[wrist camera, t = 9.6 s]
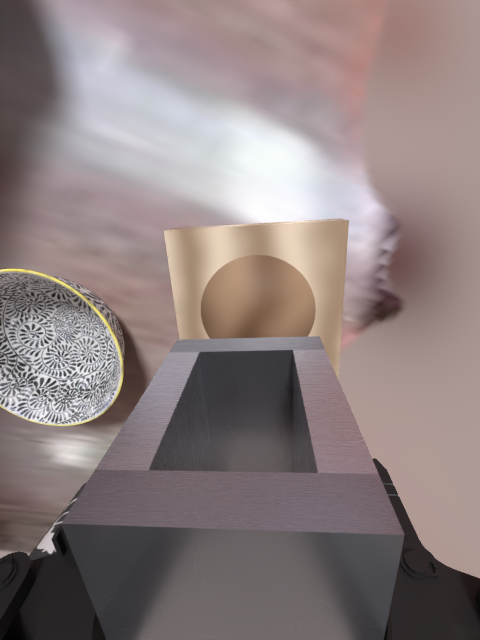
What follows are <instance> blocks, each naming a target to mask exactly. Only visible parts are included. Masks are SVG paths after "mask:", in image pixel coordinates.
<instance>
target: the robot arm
mask: <svg viewBox="0 0 480 640" xmlns="http://www.w3.org/2000/svg"><path fill="white" fill-rule="evenodd" d="M372 460H373V462H374V464H375V467H376V469H377V471H378V474H379V476H380V478H381V481H382V483H383V485H384V488H385V490H386V492H387V495H388V497H389V499H390V502H391V504H392V506H393V509H394V511H395V513H396V516H397V518H398V520H399V523H400V525H401V527H402V530H403V532H404V534H405V536H404V541H403V546H402V551H401V556H400V561H399V566H398V571H397V576H396V581H395V586H394V591H393V596H392V601H391V606H390V611H389V616H388V621H387V626H386V631H385V636H384V640H480V578H477V577H474V576H471V575H469V574H466V573H463V572H460V571H457V570H455V569H452V568H450V567H448V566H446V565H444V564H442V563H441V562H439V561H438V560H436V559H435V558H434V556H433V555H432V554H431V553H430V552H429V551H428V550H426V549H425V548H424V546H423V545H422V544H421V542H420V540H419V539H418V536H417V534H416V532H415V530H414V528H413V525H412V524H411V521H410V519H409V517H408V515H407V513H406V510H405V508H404V506H403V504H402V502H401V500H400V497H398V493H397V491H396V489H395V487H394V486H393V483H392V480H391V478H390V476H389V474H388V472H387V470H386V469H385V468H384V467H383V466H382V465H381V464H380V462H379V461H378V460H377V459H372ZM51 540H52V542H53V545H54V547H55V550H56V552H57V553H55V554H52V555H48V556H45V557H42V558H38V559H35V560H32V561H31V559H30V557H29V556H28V555H27V553H23V552H15V553H11V554H8V555H7V556H4V557H3V558H1V559H0V640H106V637H105V635H104V632H103V629H102V627H101V624H100V622H99V619H98V617H97V614H96V612H95V609H94V606H93V604H92V601H91V599H90V596H89V594H88V591H87V589H86V586H85V583H84V581H83V578H82V576H81V573H80V571H79V568H78V566H77V563H76V560H75V558H74V555H73V553H72V550H71V548H70V545H69V543H68V540H67V537H66V535H65V532H64V530H63V527H62V525H60V527H59V528H58V529H57V530H56V531H55V533H54V535H53V537H52V539H51Z"/></svg>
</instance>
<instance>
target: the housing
mask: <svg viewBox="0 0 480 640" xmlns="http://www.w3.org/2000/svg"><path fill="white" fill-rule="evenodd" d="M61 525H62V527H63V530H64V532H65V535H66V537H67V540H68V543H69V545H70V548H71V550H72V553H73V555H74V558H75V560H76V563H77V566H78V568H79V571H80V573H81V576H82V578H83V581H84V583H85V586H86V589H87V591H88V594H89V596H90V599H91V601H92V604H93V606H94V609H95V612H96V614H97V617H98V619H99V622H100V624H101V627H102V629H103V632H104V635H105V637H106V640H384V636H385V631H386V626H387V621H388V616H389V611H390V606H391V601H392V596H393V591H394V586H395V581H396V576H397V571H398V566H399V561H400V556H401V551H402V546H403V541H404V536H405V534H404V532H403V530H402V527H401V525H400V523H399V520H398V518H397V516H396V513H395V511H394V509H393V506H392V504H391V502H390V499H389V497H388V495H387V492H386V490H385V488H384V485H383V483H382V481H381V478H380V476H379V474H378V471H377V469H376V467H375V464H374V462H373V460H372V458H371V455H370V453H369V450H368V448H367V446H366V443H365V441H364V439H363V437H362V434H361V432H360V430H359V427H358V425H357V422H356V420H355V418H354V416H353V413H352V411H351V409H350V406H349V404H348V401H347V399H346V397H345V394H344V392H343V390H342V388H341V385H340V383H339V381H338V378H337V376H336V373H335V371H334V369H333V366H332V364H331V362H330V359H329V357H328V355H327V352H326V350H325V348H324V345H323V343H322V341H321V338H320V336H309V337H267V338H225V339H184V340H177V342H176V343H175V345H174V346H173V348H172V349H171V351H170V353H169V354H168V356H167V357H166V359H165V360H164V362H163V364H162V365H161V367H160V368H159V370H158V372H157V373H156V375H155V376H154V378H153V379H152V381H151V383H150V384H149V386H148V387H147V389H146V390H145V392H144V394H143V395H142V397H141V398H140V400H139V402H138V403H137V405H136V406H135V408H134V409H133V411H132V413H131V414H130V416H129V417H128V419H127V420H126V422H125V424H124V425H123V427H122V428H121V430H120V432H119V433H118V435H117V436H116V438H115V439H114V441H113V443H112V444H111V446H110V447H109V449H108V450H107V452H106V454H105V455H104V457H103V458H102V460H101V462H100V463H99V465H98V466H97V468H96V469H95V471H94V473H93V474H92V476H91V477H90V479H89V480H88V482H87V484H86V485H85V487H84V488H83V490H82V492H81V493H80V495H79V496H78V498H77V499H76V501H75V503H74V504H73V506H72V507H71V509H70V510H69V512H68V514H67V515H66V517H65V518H64V520H63V521H62V523H61Z"/></svg>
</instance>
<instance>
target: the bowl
mask: <svg viewBox="0 0 480 640" xmlns="http://www.w3.org/2000/svg"><path fill="white" fill-rule="evenodd" d="M124 355H125V346H124V338H123V334H122V330H121V327H120V325H119V322H118V320H117V319H116V317H115V315H114V314H113V312H112V311H111V309H110V308H109V307H108V306H107V304H106V303H105V302H104V301H103V300H102V299H101V298H99V297H98V296H97V295H96V294H94V293H93V292H92V291H90V290H88V289H87V288H85V287H83V286H81V285H79V284H77V283H75V282H72V281H69V280H66V279H63V278H58V277H54V276H49V275H46V274H43V273H40V272H36V271H30V270H24V269H2V270H0V407H1V408H3V409H5V410H6V411H8V412H10V413H12V414H14V415H16V416H18V417H21V418H23V419H26V420H29V421H32V422H36V423H40V424H44V425H51V426H72V425H78V424H82V423H85V422H89V421H91V420H93V419H95V418H97V417H99V416H101V415H102V414H103V413H105V412H106V411H107V410H108V409H109V408H110V407H111V406H112V404H113V403H114V402H115V400H116V399H117V397H118V395H119V392H120V390H121V386H122V382H123V375H124V365H123V363H124Z"/></svg>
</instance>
